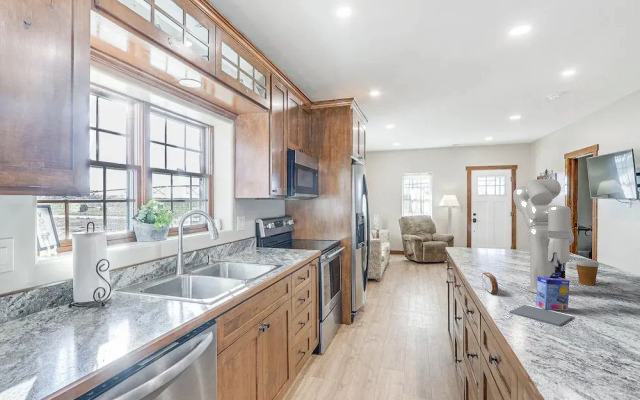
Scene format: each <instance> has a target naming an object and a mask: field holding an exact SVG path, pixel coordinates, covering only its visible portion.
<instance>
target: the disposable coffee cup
mask: <svg viewBox="0 0 640 400" xmlns="http://www.w3.org/2000/svg"><path fill="white" fill-rule="evenodd" d="M574 263H575V264H576V270H577V277H578V282H579V284H580V283H581V284H582V285H584V284H585V285H584V286H596V283H597V276H598V268H599V266H600V264H599V262H598V261H596V260H592V259H575V262H574Z"/></svg>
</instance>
